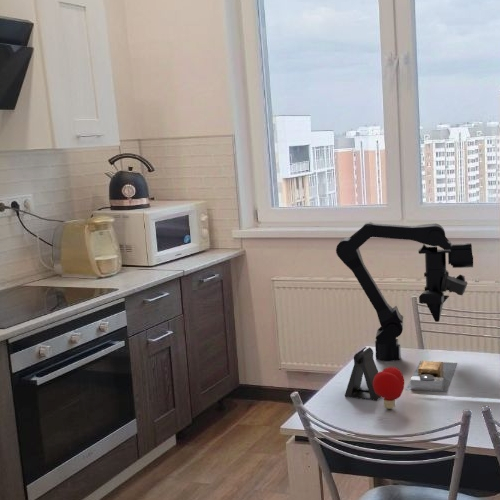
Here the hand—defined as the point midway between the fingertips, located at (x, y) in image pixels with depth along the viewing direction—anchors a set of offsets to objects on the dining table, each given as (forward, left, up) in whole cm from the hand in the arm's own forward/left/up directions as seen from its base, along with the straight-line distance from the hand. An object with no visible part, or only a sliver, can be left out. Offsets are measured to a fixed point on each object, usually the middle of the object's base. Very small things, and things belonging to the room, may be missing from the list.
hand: (437, 321), depth 216 cm
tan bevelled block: (+1, -20, -11) cm, 22 cm away
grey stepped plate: (0, -16, -12) cm, 20 cm away
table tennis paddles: (-7, -41, -12) cm, 43 cm away
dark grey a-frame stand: (-15, -32, -12) cm, 37 cm away
